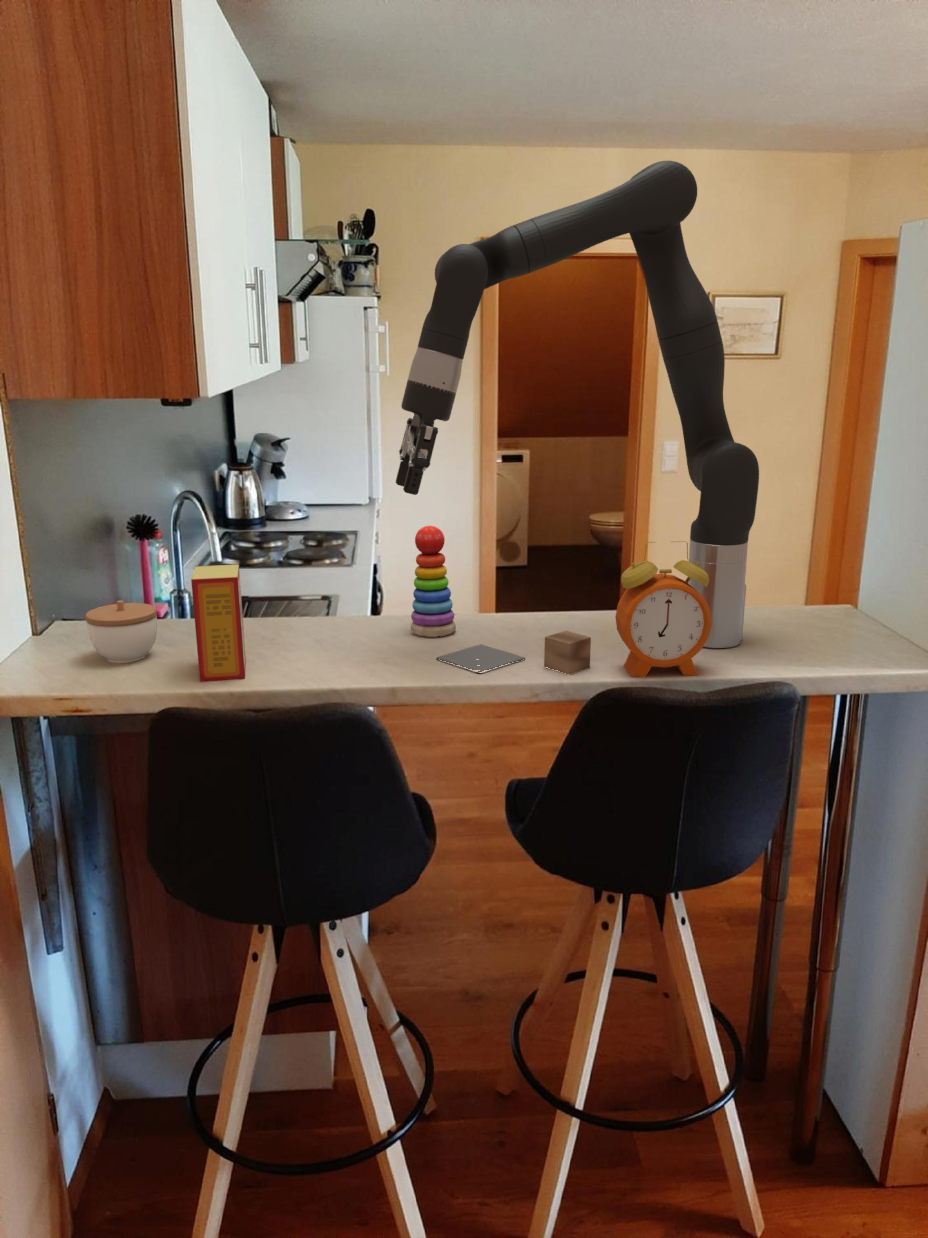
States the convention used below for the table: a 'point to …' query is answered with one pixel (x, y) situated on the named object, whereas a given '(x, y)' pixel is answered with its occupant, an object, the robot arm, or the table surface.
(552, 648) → the cube
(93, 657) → the table surface
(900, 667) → the table surface
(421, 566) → the stacking toy
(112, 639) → the lidded jar
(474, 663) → the mat
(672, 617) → the alarm clock
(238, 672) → the baking soda box
